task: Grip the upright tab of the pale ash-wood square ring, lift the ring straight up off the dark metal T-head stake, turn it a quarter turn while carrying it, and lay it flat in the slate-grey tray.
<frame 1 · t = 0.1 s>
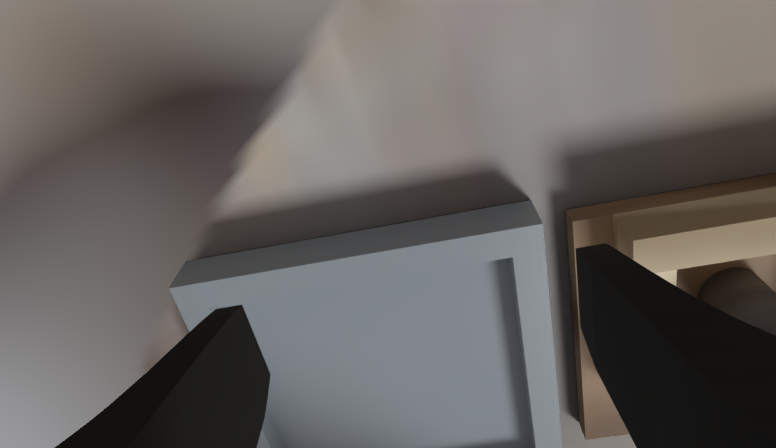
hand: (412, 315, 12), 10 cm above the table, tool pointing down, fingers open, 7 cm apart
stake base: (713, 307, 24), on the table
slate tray: (388, 364, 26), on the table
ash ring: (728, 292, 22), point 1 cm above the table, touching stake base
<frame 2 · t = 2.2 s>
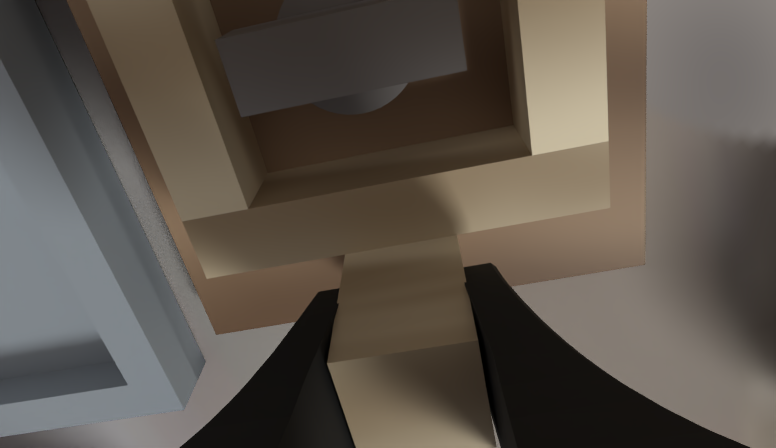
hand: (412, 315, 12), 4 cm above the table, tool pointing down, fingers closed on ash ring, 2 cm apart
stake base: (375, 78, 13), on the table
ash ring: (358, 19, 12), point 1 cm above the table, touching gripper, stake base
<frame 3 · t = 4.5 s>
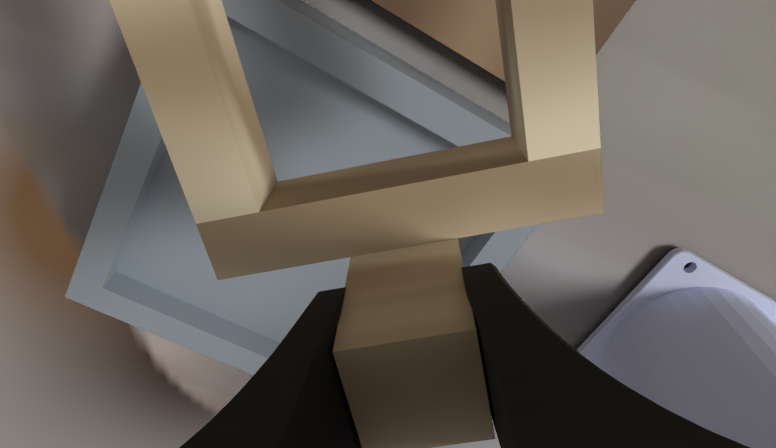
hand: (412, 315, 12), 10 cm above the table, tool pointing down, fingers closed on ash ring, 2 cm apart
slate tray: (311, 216, 22), on the table
ash ring: (365, 36, 13), point 7 cm above the table, touching gripper
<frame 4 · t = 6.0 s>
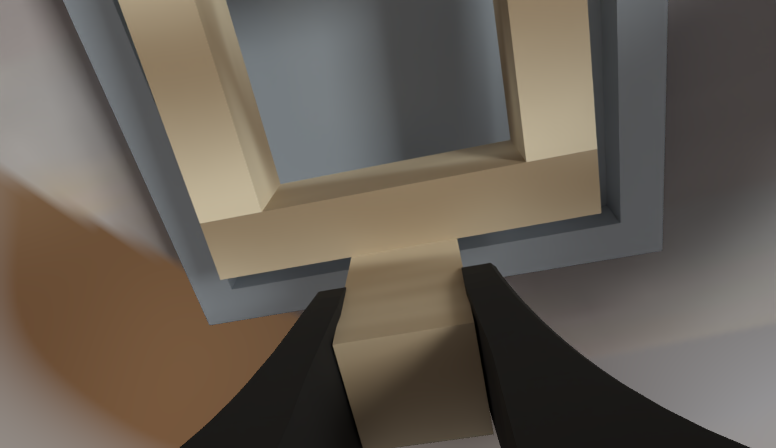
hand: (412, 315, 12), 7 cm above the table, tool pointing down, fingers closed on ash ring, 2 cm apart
slate tray: (378, 45, 16), on the table
ash ring: (367, 41, 13), point 3 cm above the table, tilted 5°, touching gripper
when the fingers open (5 cm above the table, at t = 6.7 s): ash ring stays where it is, resting on slate tray.
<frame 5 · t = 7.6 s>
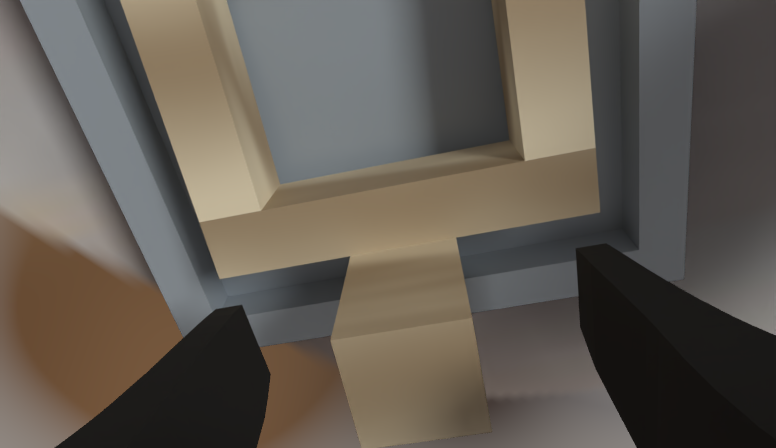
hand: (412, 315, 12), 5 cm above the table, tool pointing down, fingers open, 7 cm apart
slate tray: (374, 57, 14), on the table
ash ring: (366, 42, 13), point 1 cm above the table, tilted 6°, touching slate tray
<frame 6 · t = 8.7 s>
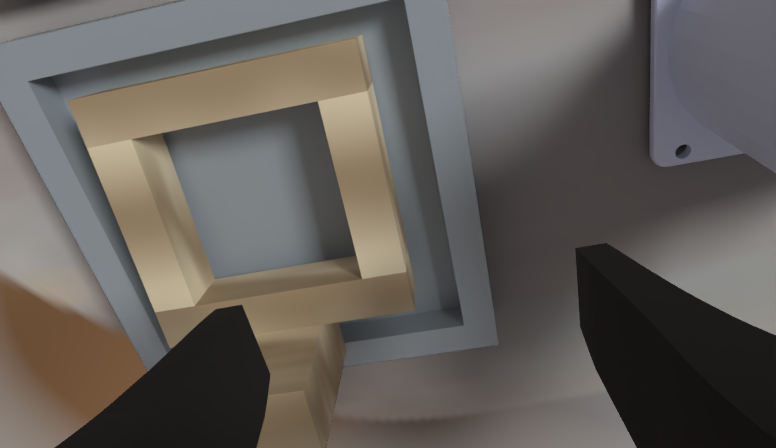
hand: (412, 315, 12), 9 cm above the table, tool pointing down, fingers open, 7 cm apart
slate tray: (280, 192, 21), on the table
ash ring: (267, 192, 19), point 1 cm above the table, tilted 6°, touching slate tray
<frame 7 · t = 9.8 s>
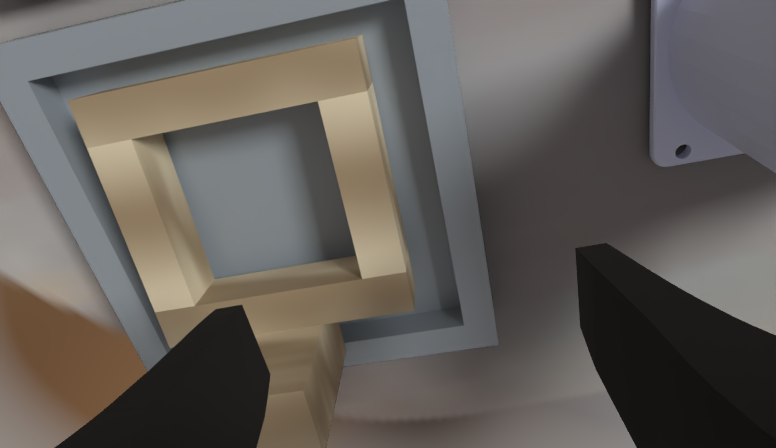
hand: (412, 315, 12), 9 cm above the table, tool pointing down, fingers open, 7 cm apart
slate tray: (280, 192, 21), on the table
ash ring: (267, 192, 19), point 1 cm above the table, tilted 6°, touching slate tray
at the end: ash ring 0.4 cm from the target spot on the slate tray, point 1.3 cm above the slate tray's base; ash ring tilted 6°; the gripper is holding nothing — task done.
